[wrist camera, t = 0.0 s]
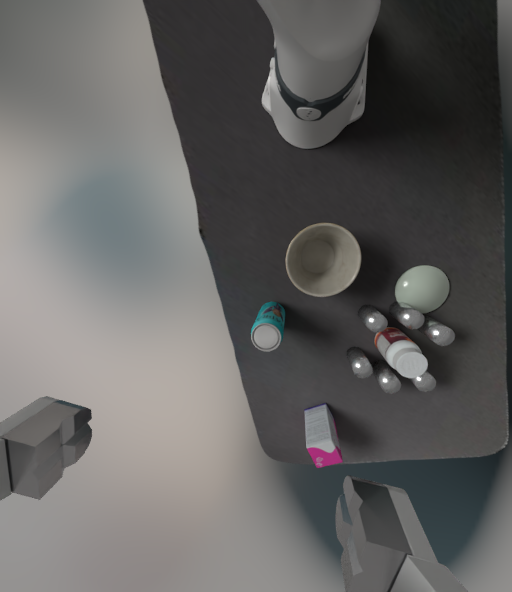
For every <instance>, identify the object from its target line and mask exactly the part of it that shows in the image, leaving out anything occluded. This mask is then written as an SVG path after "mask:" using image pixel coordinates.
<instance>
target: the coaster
mask: <svg viewBox="0 0 512 592" xmlns="http://www.w3.org/2000/svg"><path fill="white" fill-rule="evenodd" d="M448 293H449V281H448V278H447V276H446V275H445V274H444V273H443V272H442V271H441V270H440V269H438V268H436V267H432V266H427V265H421V266H416V267H413V268H411V269H409V270H407V271H406V272H404V273H403V274H402V275H401V276H400V278H399V279H398V281H397V283H396V285H395V298H396V300H397V302H403V303H405V304H407V305H409V306H410V307H412V308H414V309H415V310H417V311H419V312H420V313H428V312H431V311H433V310H435V309H437V308H438V307H439V306H441V305H442V304H443V302H444V301H445V300H446V298H447V296H448Z"/></svg>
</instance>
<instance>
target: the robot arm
mask: <svg viewBox="0 0 512 592" xmlns="http://www.w3.org/2000/svg"><path fill="white" fill-rule="evenodd" d="M257 2H258V3H259V5H260V6H261V7H262V9H263V10H264V12H265V13H266V15H267V17H268V18H269V20H270V22H271V24H272V27H273V32H274V37H275V43H274V48H275V58H272V59H271V62H270V69H271V71H270V74H269V77H268V80H267V83H266V86H265V90H264V93H263V96H262V105H263V107H264V109H265V110H266V111H267V112H268V113H269V114H270V115H271V116H272V117H273V119H274V122H275V124H276V127H277V129H278V131H279V133H280V134H281V135H282V137H283V138H284V139H285V140H286V141H287V142H289V143H290V144H292V145H294V146H296V147H299V148H305V149H312V148H317V147H320V146H323V145H325V144H327V143H329V142H330V141H332V140H333V139H334V138H335V137H336V136H337V135H338V134H339V133H340V132H341V131H342V130H343V129H344V128H345V127H346V126H347V125H348V124H350V123H352V122H354V121H356V120H357V119H359V118H360V117H361V116H362V114H363V112H364V107H365V91H366V74H367V57H368V40H369V38H370V35H371V33H372V30H373V27H374V25H375V22H376V19H377V16H378V13H379V9H380V4H381V0H257ZM268 94H269V95H268ZM358 102H359V105H357V104H358ZM91 418H92V417H91V410H90V409H88V408H86V407H82V406H79V405H76V404H72V403H69V402H65V401H62V400H58V399H54V398H51V397H47V396H46V397H42V398H39V399H37V400H36V401H34V402H33V403H31V404H29V405H28V406H26V407H25V408H23V409H21V410H20V411H18V412H17V413H15V414H14V415H12V416H10V417H9V418H7V419H6V420H4V421H3V422H1V423H0V500H2V499H4V498H6V497H7V496H9V495H11V492H13V493H17V494H21V495H24V496H28V497H32V498H35V499H39V500H40V499H41V498H42V497H43V496H44V495H45V494H46V493H47V492H48V491H49V490H50V489H51V488H52V487H53V486H54V485H55V483H57V481H58V480H59V479H60V478H61V477H62V475H63V471H64V468H66V467H68V466H70V465H72V464H74V463H76V462H77V461H78V460H79V458H80V457H81V456H82V455H83V454H84V453H85V451H86V449H87V447H88V446H89V444H90V441H91V437H92V429H91V428H90V426H89V425H88V422H89V421H90V420H91ZM343 487H344V494H343V495H341V496H339V499H338V502H337V506H336V507H337V508H336V530H337V537H338V540H339V541H340V543H341V545H342V546H343V548H344V551H343V554H342V557H341V564H342V571H343V577H344V583H345V590H346V592H468V591H467V590H466V589H465V588H464V586H462V584H461V583H460V582H459V581H458V580H457V578H456V577H455V576H454V575H453V574H452V573H451V572H450V571H449V569H448V568H447V567H446V566H445V565H442V564H439V563H438V561H437V559H436V557H435V555H434V553H433V551H432V548H431V546H430V544H429V542H428V539H427V537H426V535H425V533H424V531H423V529H422V526H421V524H420V522H419V520H418V517H417V515H416V513H415V511H414V509H413V506H412V504H411V502H410V500H409V498H408V495H407V493H406V492H405V491H404V490H403V489H400V488H397V487H392V486H389V485H385V484H384V485H383V484H381V483H376V482H373V481H369V480H365V479H361V478H357V477H353V476H347V477H346V478H345V480H344V484H343Z"/></svg>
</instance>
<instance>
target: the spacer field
mask: <svg viewBox="0 0 512 592" xmlns="http://www.w3.org/2000/svg"><path fill="white" fill-rule="evenodd" d="M389 312H390V314H391V315H392V316H393V317H394V318H395V319H397V320H398V321H399V322H400V323H402V324H403V325H404V326H405V327H407V328H408V329H417V330H419V331H420V332H421V333H423V334H424V335H425V336H427V337H428V338H429V339H431V340H432V341H433V342H435V343H436V344H438V345H440V346H446V345H449V344H451V343H452V342H453V341H454V339H455V333H454V331H453V330H452V329H450V328H448V327H447V326H445V325H443V324H441V323H440V322H438V321H436V320H434V319H433V318H431V317H429V316H423V314H422V313H420V312H419V311H417V310H415V309H414V308H412V307H410V306H409V305H407V304H405V303H403V302H394V303H393V304H392V305H391V306H390V308H389ZM358 316H359V317H360V319H361V320H362V321H363V322H364V324H365V325H366V326H367V327H368V328H369V330H371V331H372V332H375V333H379V332H382V331H384V330H385V329H386V327H387V324H388V322H387V319H386V318H385V317H384V316H383V315H382V314H381V313H380V312H378V311H377V310H376V309H375V308H374V307H373V306H371V305H364V306H362V307H361V308H360V309H359V311H358ZM347 358H348V360H349V362H350V364H351V367H352V369H353V371H354V373H355V375H356V376H358V377H360V378H367V377H369V376H370V375H371V374H372V372H373V374H374V375H375V377H376V379H377V380H378V382H379V384H380V386H381V387H382V389H383V390H384V391H385V392H387V393H395V392H397V391H399V389H400V388H401V383H400V381H399V380H398V378H397V377H396V376H395V374H394V373H393V372H392V370H391V369H390V367H389V366H388V365H387V363H386V362H384V361H382V360H377V361H375V362H373V363H372V365H371V364H370V362H369V361H368V359H367V358H366V356H365V354H364V353H363V351H362V350H361V349H360V348H359V347H351V348H349V349H348V351H347ZM409 379H410V380H411V381H412V382H413V383H414V385H415V386H416V387H417V388H418V389H419V390H420V391H423V392H428V391H431V390H433V389H434V388H435V386H436V380H435V379H434V378H433V377H432V376H431V375H430V374H429V373H428V372H427V371H425V372H424V373H423V374H422V375H421V376H419V377H416V378H409Z"/></svg>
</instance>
